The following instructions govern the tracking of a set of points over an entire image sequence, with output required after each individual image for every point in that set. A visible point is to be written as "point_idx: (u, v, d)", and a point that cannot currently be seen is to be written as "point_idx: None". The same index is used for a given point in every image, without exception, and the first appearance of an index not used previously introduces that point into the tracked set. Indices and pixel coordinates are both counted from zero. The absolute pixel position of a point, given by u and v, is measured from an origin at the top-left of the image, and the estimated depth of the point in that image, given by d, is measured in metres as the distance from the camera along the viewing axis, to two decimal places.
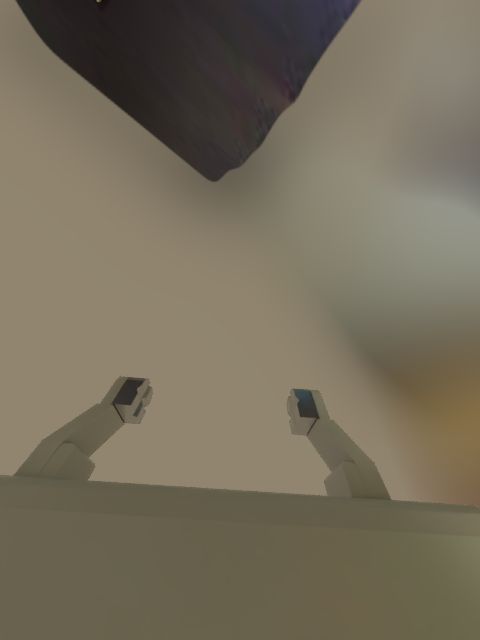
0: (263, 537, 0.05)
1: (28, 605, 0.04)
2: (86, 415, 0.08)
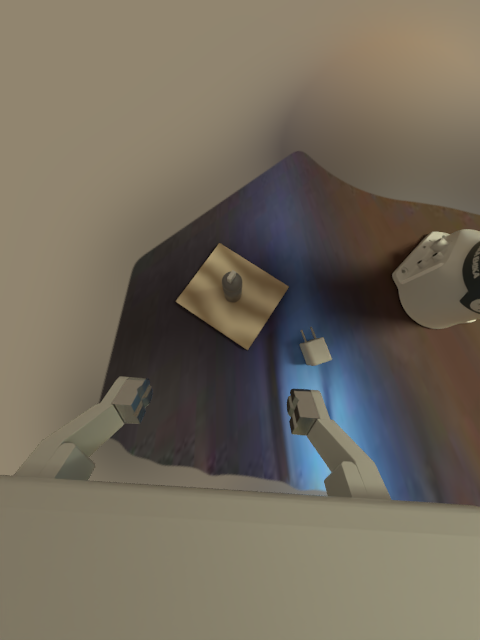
0: (263, 537, 0.05)
1: (28, 605, 0.04)
2: (86, 415, 0.08)
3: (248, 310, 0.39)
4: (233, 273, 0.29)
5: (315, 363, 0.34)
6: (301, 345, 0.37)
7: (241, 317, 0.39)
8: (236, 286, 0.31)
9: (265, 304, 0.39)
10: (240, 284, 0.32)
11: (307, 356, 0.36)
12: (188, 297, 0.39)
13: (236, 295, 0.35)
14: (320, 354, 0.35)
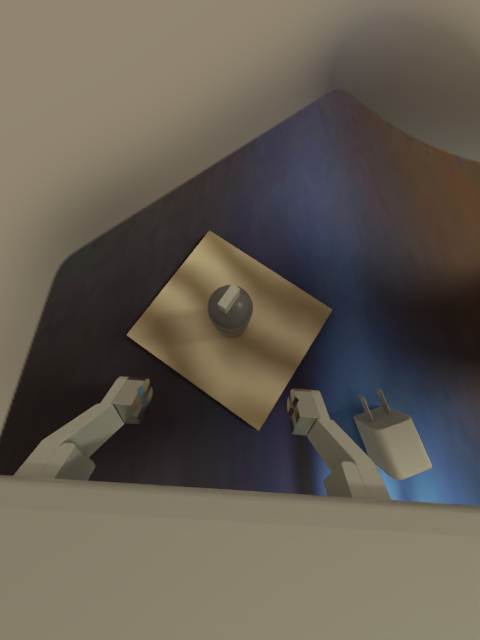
0: (263, 537, 0.05)
1: (28, 605, 0.04)
2: (86, 415, 0.08)
3: (260, 353, 0.21)
4: (233, 292, 0.12)
5: (400, 475, 0.17)
6: (361, 425, 0.20)
7: (247, 366, 0.21)
8: (240, 320, 0.14)
9: (292, 341, 0.21)
10: (249, 314, 0.14)
11: (376, 452, 0.18)
12: (150, 327, 0.21)
13: (239, 331, 0.17)
14: (408, 456, 0.17)
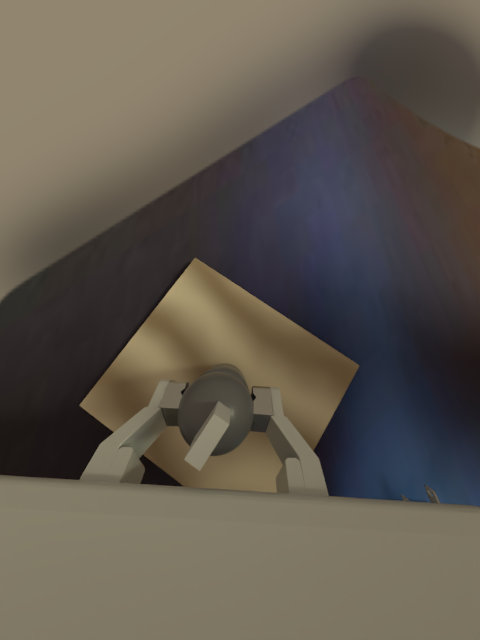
0: (263, 537, 0.05)
1: (28, 605, 0.04)
2: (137, 418, 0.08)
3: None
4: (217, 432, 0.06)
5: None
6: None
7: (245, 449, 0.15)
8: (232, 447, 0.08)
9: (306, 411, 0.16)
10: (247, 432, 0.08)
11: None
12: (112, 394, 0.16)
13: None
14: None
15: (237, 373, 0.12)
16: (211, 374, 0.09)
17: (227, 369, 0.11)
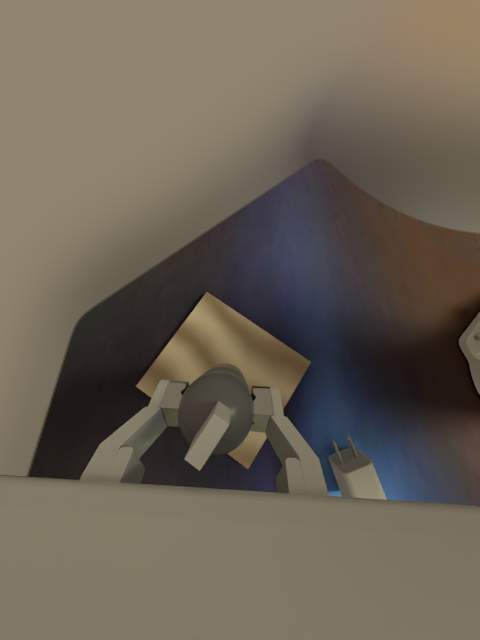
0: (263, 537, 0.05)
1: (28, 605, 0.04)
2: (137, 418, 0.08)
3: None
4: (217, 432, 0.06)
5: None
6: (333, 466, 0.23)
7: None
8: (232, 447, 0.08)
9: None
10: (247, 431, 0.08)
11: (344, 490, 0.22)
12: (156, 379, 0.25)
13: None
14: (368, 495, 0.21)
15: (237, 373, 0.12)
16: (211, 374, 0.09)
17: (227, 369, 0.11)
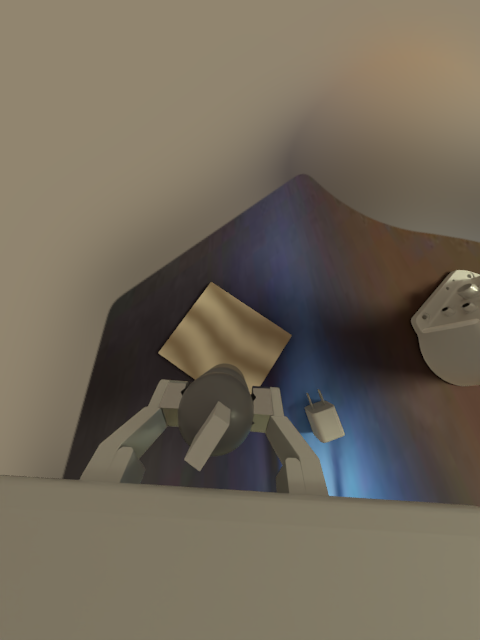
0: (263, 537, 0.05)
1: (28, 605, 0.04)
2: (137, 418, 0.08)
3: (244, 364, 0.33)
4: (217, 433, 0.06)
5: (325, 440, 0.28)
6: (307, 412, 0.31)
7: None
8: (232, 447, 0.08)
9: (264, 356, 0.33)
10: (247, 432, 0.08)
11: (314, 428, 0.30)
12: (173, 348, 0.33)
13: None
14: (330, 429, 0.29)
15: (237, 373, 0.12)
16: (211, 374, 0.09)
17: (227, 369, 0.11)
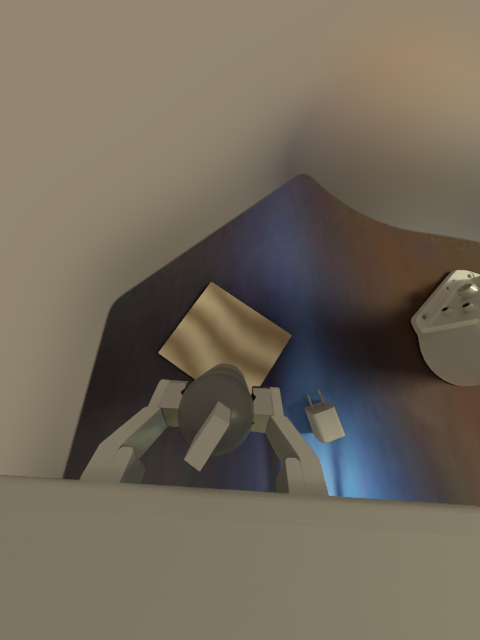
0: (263, 537, 0.05)
1: (28, 605, 0.04)
2: (137, 418, 0.08)
3: (244, 364, 0.33)
4: (217, 433, 0.06)
5: (325, 440, 0.28)
6: (307, 412, 0.31)
7: None
8: (232, 447, 0.08)
9: (264, 356, 0.33)
10: (247, 432, 0.08)
11: (314, 428, 0.30)
12: (173, 348, 0.33)
13: None
14: (330, 429, 0.29)
15: (237, 373, 0.12)
16: (211, 374, 0.09)
17: (227, 369, 0.11)
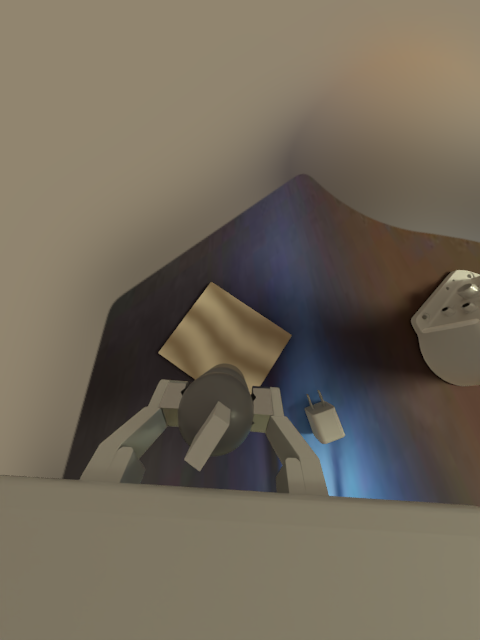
0: (263, 537, 0.05)
1: (28, 605, 0.04)
2: (137, 418, 0.08)
3: (244, 364, 0.33)
4: (217, 433, 0.06)
5: (325, 441, 0.28)
6: (307, 413, 0.31)
7: None
8: (232, 447, 0.08)
9: (264, 356, 0.33)
10: (247, 432, 0.08)
11: (314, 429, 0.30)
12: (173, 348, 0.33)
13: None
14: (330, 430, 0.29)
15: (237, 373, 0.12)
16: (211, 374, 0.09)
17: (227, 369, 0.11)
